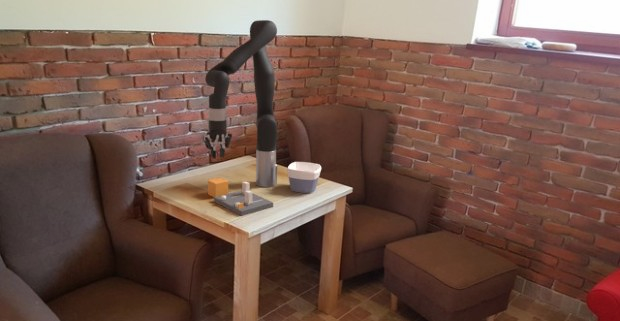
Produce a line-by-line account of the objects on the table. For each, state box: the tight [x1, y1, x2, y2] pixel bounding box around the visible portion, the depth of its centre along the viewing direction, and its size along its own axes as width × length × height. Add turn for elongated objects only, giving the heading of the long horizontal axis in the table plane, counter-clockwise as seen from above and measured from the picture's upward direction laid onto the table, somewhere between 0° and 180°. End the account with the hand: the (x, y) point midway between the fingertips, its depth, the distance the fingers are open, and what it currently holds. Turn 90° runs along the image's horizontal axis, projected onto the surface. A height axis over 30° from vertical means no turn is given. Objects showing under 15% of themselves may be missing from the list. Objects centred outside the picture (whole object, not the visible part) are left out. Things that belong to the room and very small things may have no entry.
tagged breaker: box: [243, 190, 254, 205], centre depth 188 cm, size 3×3×5 cm
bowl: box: [286, 161, 322, 194], centre depth 214 cm, size 15×15×11 cm
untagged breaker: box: [241, 181, 251, 195], centre depth 199 cm, size 3×3×5 cm
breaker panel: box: [213, 189, 274, 217], centre depth 193 cm, size 16×20×4 cm
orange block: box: [207, 177, 229, 198], centre depth 202 cm, size 6×6×7 cm
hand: (217, 157), depth 198 cm, fingers open, 3 cm apart
